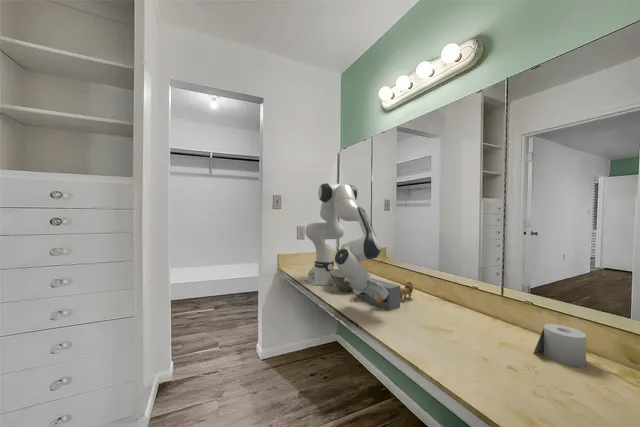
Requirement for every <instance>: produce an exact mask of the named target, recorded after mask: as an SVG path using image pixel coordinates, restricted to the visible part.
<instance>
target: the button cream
mask: <svg viewBox="0 0 640 427" xmlns="http://www.w3.org/2000/svg"><path fill="white" fill-rule="evenodd" d="M352 292H353V293H354V294H355V296H356V295H359V294H360V293H364V292H361V291H358V290H355V289H353V291H352Z"/></svg>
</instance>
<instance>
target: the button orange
mask: <svg viewBox="0 0 640 427" xmlns="http://www.w3.org/2000/svg"><path fill="white" fill-rule="evenodd" d="M386 299H387V298H386ZM386 299H385V300H386ZM374 300H375V301H376V302H377V303H380V302H382V301H384V299H381V298H377V299H374Z"/></svg>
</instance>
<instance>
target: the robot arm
mask: <svg viewBox="0 0 640 427" xmlns="http://www.w3.org/2000/svg"><path fill="white" fill-rule="evenodd" d="M317 196H318V199H319V201H321V204H320V211H319V216H320V218H321V219H322V220H324V221H325V222H312V223H308V224H307V225H306V227H305V230H304V232H305V235H306V236H305V237H307V239H308V240H310V241H311V242H312V244H313V246H314V247H315V256H316V257H315V259H316V260H314V261H313V264H314V266H312V268H311V269H309V271H308V273H307V277H305V278H304V281H306V280H307V281H308V283H309V282H310V283H311V285H312V284H313V285H312V286H331V285H330V284H333V285H335V284H334V281H333V279H332V277H331V275H330V273H329V271H331V270H334V269H335V268H334V266H337V269H339V270H340V271H341V272H342V274H343V275H344V276H346V277H345V279H344V281H345V282H346V283H347V284H348V285H349V286H350V287H351V288H353V289H355V290H358V291H361V292H364V293H367V294H368V295H370V296H371V297H372V298H374V299H377V298H381V299H384V300H385V299H386V298H387V296H388V294H389V292H388V291H387V290H386V289H385V287H384V286H383V285H382V284H380V283H378V282H375V281H371V278H372V277H371V275H370V273H369V272H368V271H367V269H366V268H365V267H364V266H362V264H361V262H365V261H367V260H374V259H376V258H378V257H379V256H380V254H381V252H382V247H381V246H382V245H381V243H380V241H379V239H378V238H377V236H376V233H375V231H374V229H373V226H372V224H371V222H370V220H369V219H370V218H369V217H368V215H367V213H366V211H365V209H363V207H361V206H358V204H357V198H358V189H357V187H356V186H354V185H351V184H345V183H327V182H325V183H322V184H320V186H319V188H318V190H317ZM339 219H341V220H342V221H346V222H359V225H360V228H361V231H362V235H363V236H362V237H361V238H359V239H355V240H352V241H349V242H347V243H344V244H342V245H341V247H340V250H338V251H337V252H336V254H335V256H334V248H333V247H332V246H331V245H329V244H327V243H326V240H337V239H341V238H343V236H344V234H345V228H344V225H343V224H341V223H340V221H339ZM335 264H336V265H335ZM307 281H306V282H307ZM310 283H309V284H310Z"/></svg>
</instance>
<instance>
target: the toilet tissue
mask: <svg viewBox="0 0 640 427" xmlns="http://www.w3.org/2000/svg"><path fill="white" fill-rule="evenodd" d="M538 338H539V339H538V341H537V343H536V346H535V349H534V351H533V354H534V353H536V352H543V355H544V356H546V358H548V359H549V360H551V361H554V362H556V363H557V364H561V365H563V364H564V365H563V366H567V365H568V366H569V367H571V368H576V369H577V368H586V366H587V334H586V333H585V332H583V331H581V330H579V329H577V328H574V327H570V326H567V325H562V324H555V323H546V324H544V326H543V329H542V331H541V334H540V336H539V337H538Z"/></svg>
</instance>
